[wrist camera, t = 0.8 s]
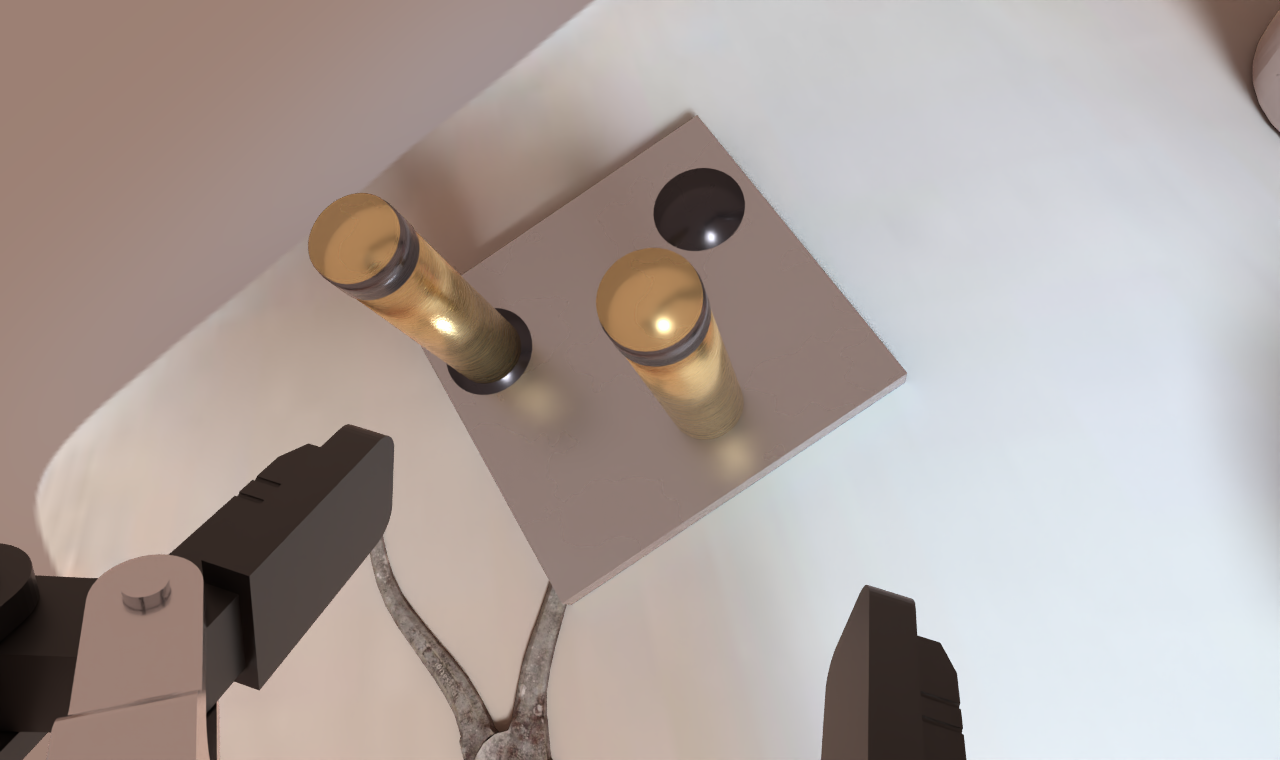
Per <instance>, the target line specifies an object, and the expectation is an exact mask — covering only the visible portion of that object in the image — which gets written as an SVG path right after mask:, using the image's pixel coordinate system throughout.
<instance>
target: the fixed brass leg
mask: <svg viewBox="0 0 1280 760" xmlns="http://www.w3.org/2000/svg"><path fill="white" fill-rule="evenodd" d="M308 251H309V256H310V259H311V262H312V264H313V265H314V267H315V268H316V269H317V271H318V272H319V273H320V274H321V275H322V276H323V277H324V278H325V279H326V280H328V281H329V282H331V283H332V284H333V285H335V286H336V287H338V288H339V289H340V290H342V291H343V292H345V293H346V294H348V295H349V296H351V297H353V298H356V299H357V300H359V301H360V302H361V303H363V304H364V305H366V306H367V307H368V308H370V309H371V310H373V311H374V312H375V313H377V314H378V315H380V316H381V317H382V318H384V319H385V320H387V321H388V322H389V323H391V324H392V325H394V326H395V327H396V328H398V329H399V330H401V331H402V332H403V333H405V334H406V335H408V336H409V337H410V338H412V339H413V340H415V341H416V342H417V343H419V344H420V345H422V346H423V347H424V348H426V349H427V350H429V351H430V352H431V353H433V354H434V355H436V356H437V357H438V358H440V359H441V360H443V361H444V362H445V363H447V364H448V365H450V366H451V367H452V368H454V369H455V370H457V371H458V372H459V373H461V374H462V375H464V376H465V377H466V378H468V379H469V380H471V381H473V382H476V383H481V384H488V383H493V382H496V381H499V380H501V379H502V378H504V377H506V376H507V375H508V374H509V373H510V372H511V371H512V370H513V369H514V367H515V366H516V364H517V362H518V360H519V357H520V353H521V340H520V337H519V334H518V332H517V331H516V329H515V328H514V327H513V326H512V325H511V324H510V323H509V322H508V321H507V320H506V319H505V318H504V317H503V316H502V315H501V314H500V313H499V312H498V311H497V310H496V309H495V308H494V307H493V306H492V305H491V304H490V303H488V302H487V301H486V300H485V299H484V298H483V297H482V296H481V295H480V294H479V293H478V292H477V291H476V290H475V289H474V288H473V287H472V286H471V285H470V284H469V283H468V282H467V281H466V280H465V279H464V278H463V277H462V276H461V275H460V274H459V273H458V272H457V271H456V270H455V269H454V268H453V267H452V266H451V265H450V264H448V263H447V262H446V261H445V260H444V259H443V258H442V257H441V256H440V255H439V254H438V253H437V252H436V251H435V250H434V249H433V248H432V247H431V246H430V245H429V244H428V243H427V242H426V241H425V240H424V239H423V238H422V237H421V236H420V235H419V234H418V233H417V232H416V231H415V230H414V228H413V227H412V225H411V224H410V223H409V222H408V221H407V220H406V219H405V218H404V217H402V216H401V215H400V214H399V213H398V212H397V211H396V210H395V209H394V208H393V207H392V206H391V205H390V204H389V203H387V202H386V201H384V200H382V199H381V198H379V197H377V196H375V195H372V194H367V193H356V194H351V195H347V196H345V197H342V198H340V199H338V200H337V201H335V202H333V203H332V204H331V205H330V206H328V207H327V208H326V209H325V210H324V211H323V212H322V213H321V214H320V215H319V217H318V218H317V220H316V221H315V223H314V225H313V227H312V230H311V233H310V236H309V242H308Z"/></svg>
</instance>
